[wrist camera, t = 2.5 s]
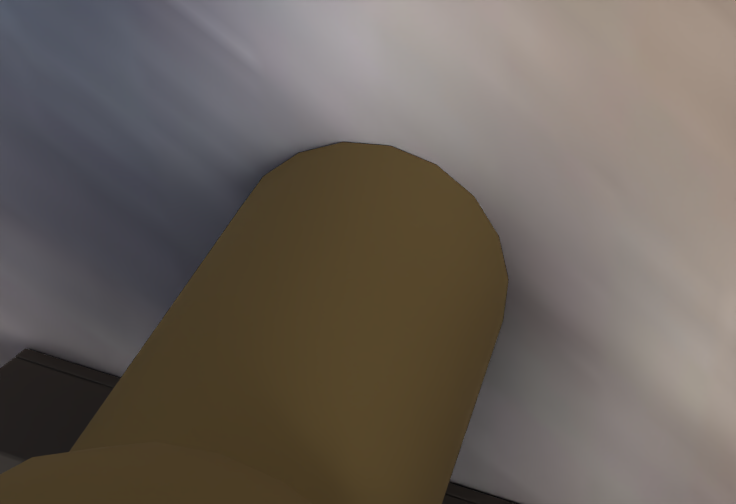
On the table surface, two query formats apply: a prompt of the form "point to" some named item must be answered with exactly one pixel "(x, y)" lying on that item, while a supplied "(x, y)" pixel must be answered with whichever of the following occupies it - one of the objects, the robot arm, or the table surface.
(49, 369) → the divided tray
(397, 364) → the olive knobbed cylinder
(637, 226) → the table surface
